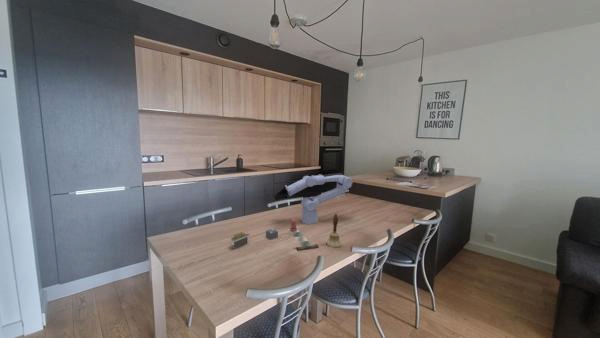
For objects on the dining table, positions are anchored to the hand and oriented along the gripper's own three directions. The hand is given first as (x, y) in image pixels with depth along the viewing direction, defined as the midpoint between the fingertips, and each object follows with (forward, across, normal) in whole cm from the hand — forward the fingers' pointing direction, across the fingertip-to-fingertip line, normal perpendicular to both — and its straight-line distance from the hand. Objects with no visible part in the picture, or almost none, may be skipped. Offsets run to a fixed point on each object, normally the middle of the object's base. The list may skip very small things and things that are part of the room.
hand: (275, 198), depth 144 cm
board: (0, +8, +26) cm, 28 cm away
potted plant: (+28, +13, +15) cm, 34 cm away
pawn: (-1, +1, +21) cm, 21 cm away
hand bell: (-14, +15, +37) cm, 42 cm away
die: (+12, +8, +20) cm, 25 cm away
